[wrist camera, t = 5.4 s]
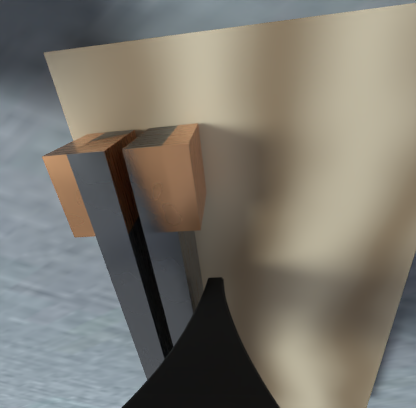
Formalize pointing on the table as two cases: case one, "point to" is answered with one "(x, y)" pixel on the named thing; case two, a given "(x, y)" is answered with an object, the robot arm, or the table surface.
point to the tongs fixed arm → (113, 232)
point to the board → (284, 177)
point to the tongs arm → (171, 213)
